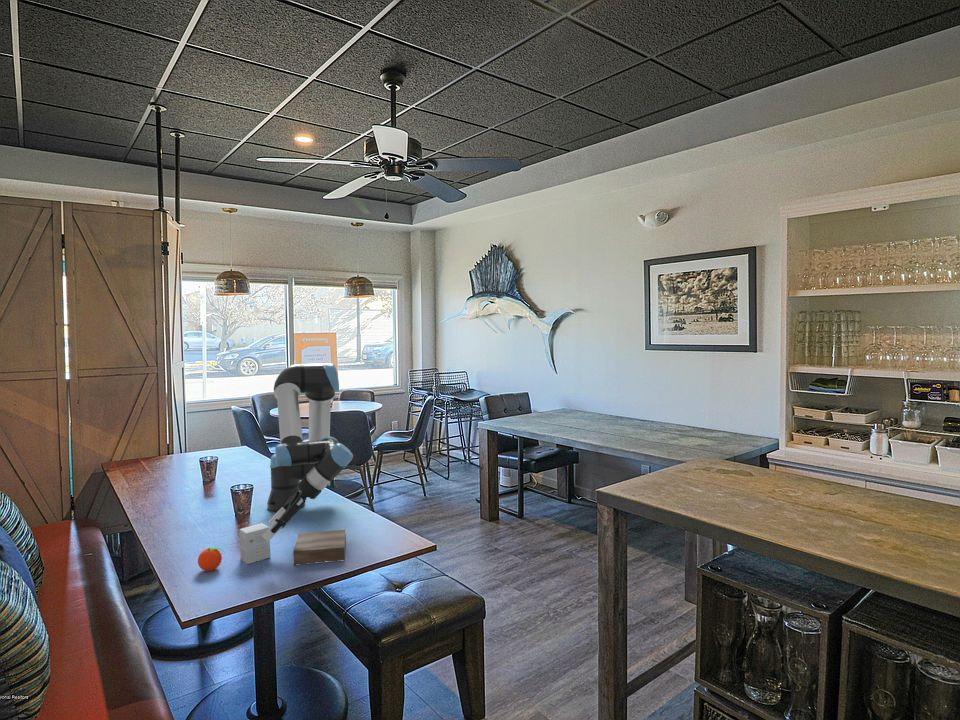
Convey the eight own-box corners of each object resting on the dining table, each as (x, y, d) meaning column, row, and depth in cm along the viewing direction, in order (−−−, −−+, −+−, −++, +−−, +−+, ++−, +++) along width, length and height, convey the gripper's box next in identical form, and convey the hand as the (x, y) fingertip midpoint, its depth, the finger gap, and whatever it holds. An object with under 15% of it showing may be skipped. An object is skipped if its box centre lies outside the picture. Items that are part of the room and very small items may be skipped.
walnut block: (298, 547, 200) (298, 533, 200) (345, 543, 204) (345, 529, 203) (293, 566, 185) (293, 551, 184) (344, 561, 188) (344, 547, 188)
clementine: (225, 563, 187) (224, 541, 186) (226, 571, 181) (225, 549, 180) (197, 568, 183) (196, 546, 182) (198, 576, 177) (197, 554, 176)
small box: (263, 552, 195) (262, 522, 194) (270, 557, 191) (269, 526, 190) (239, 559, 189) (238, 528, 188) (246, 564, 185) (245, 533, 184)
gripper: (320, 501, 180) (271, 553, 178) (324, 480, 204) (282, 525, 202) (301, 486, 178) (252, 538, 176) (308, 466, 203) (265, 511, 201)
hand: (268, 531), depth 189 cm, fingers open, 13 cm apart
